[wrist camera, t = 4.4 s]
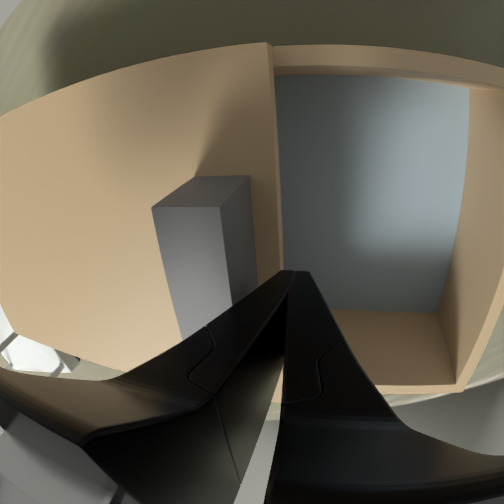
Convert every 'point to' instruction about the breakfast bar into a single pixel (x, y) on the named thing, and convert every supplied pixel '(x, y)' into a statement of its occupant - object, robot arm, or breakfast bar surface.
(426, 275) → the box
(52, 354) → the file sorter
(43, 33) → the breakfast bar surface
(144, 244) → the lid
